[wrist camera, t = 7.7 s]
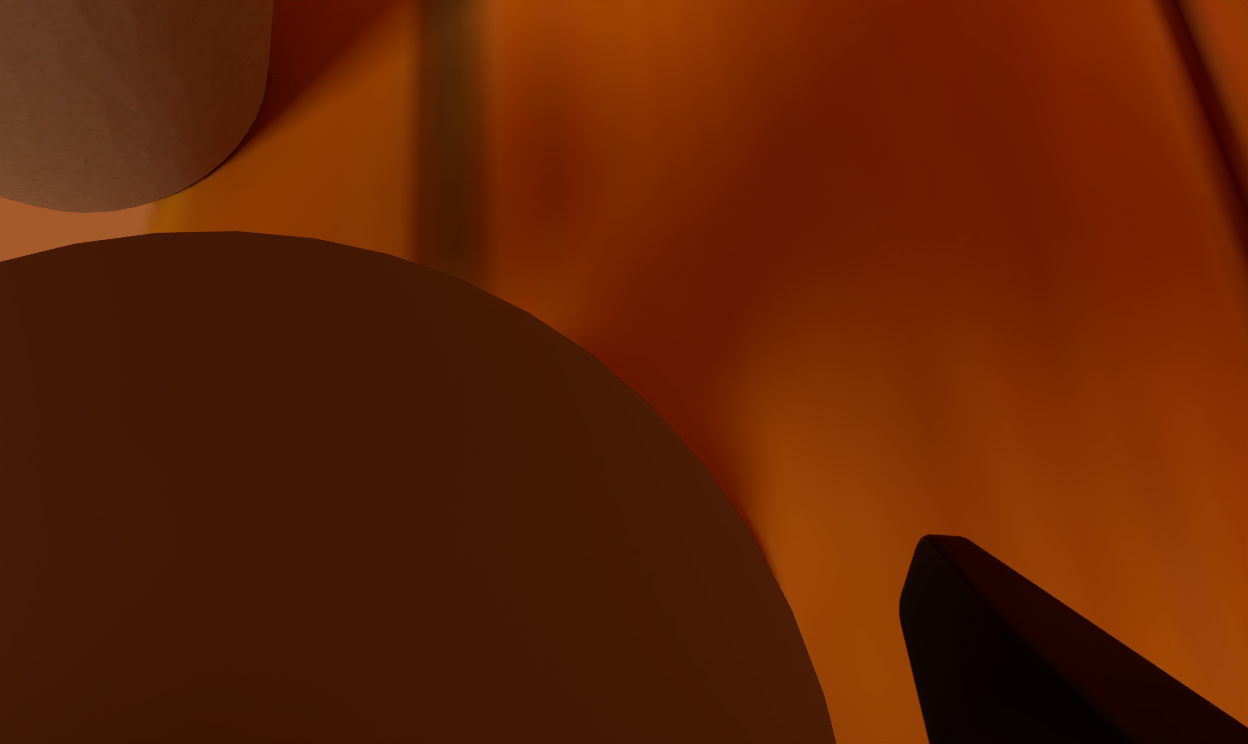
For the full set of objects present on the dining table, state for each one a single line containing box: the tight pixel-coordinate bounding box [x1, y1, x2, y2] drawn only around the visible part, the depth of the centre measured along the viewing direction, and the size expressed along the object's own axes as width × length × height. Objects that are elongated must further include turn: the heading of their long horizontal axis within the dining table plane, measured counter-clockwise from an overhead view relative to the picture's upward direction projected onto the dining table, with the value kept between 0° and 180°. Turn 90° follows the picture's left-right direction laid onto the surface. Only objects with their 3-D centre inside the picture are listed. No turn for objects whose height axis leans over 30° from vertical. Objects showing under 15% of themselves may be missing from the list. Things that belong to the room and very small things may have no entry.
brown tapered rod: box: [0, 231, 836, 744], centre depth 9 cm, size 4×4×15 cm
